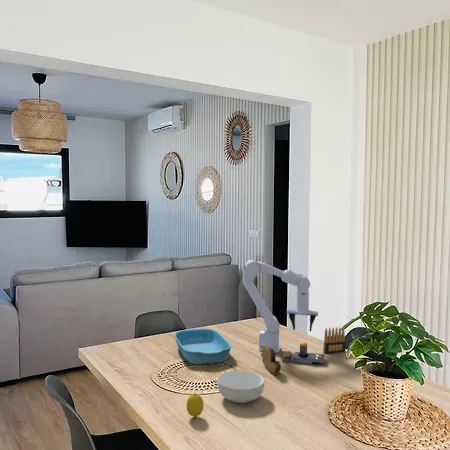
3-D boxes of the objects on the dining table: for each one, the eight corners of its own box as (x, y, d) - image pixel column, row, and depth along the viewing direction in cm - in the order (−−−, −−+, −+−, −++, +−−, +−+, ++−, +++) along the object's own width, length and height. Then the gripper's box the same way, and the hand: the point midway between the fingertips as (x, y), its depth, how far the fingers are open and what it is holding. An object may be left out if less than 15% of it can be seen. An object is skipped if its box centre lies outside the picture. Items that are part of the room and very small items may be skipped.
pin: (299, 361, 198) (299, 343, 198) (299, 359, 201) (300, 341, 201) (306, 362, 197) (307, 344, 197) (307, 359, 200) (307, 342, 200)
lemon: (186, 413, 148) (186, 390, 148) (203, 413, 149) (203, 389, 148) (186, 421, 143) (186, 397, 142) (203, 421, 143) (203, 396, 143)
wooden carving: (285, 377, 180) (285, 352, 179) (274, 378, 178) (275, 354, 178) (266, 363, 195) (266, 340, 195) (257, 364, 194) (257, 342, 193)
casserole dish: (237, 365, 194) (237, 348, 194) (186, 370, 187) (186, 353, 187) (213, 340, 229) (214, 326, 229) (170, 344, 222) (170, 329, 222)
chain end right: (293, 362, 196) (293, 356, 196) (295, 356, 204) (295, 350, 204) (323, 365, 193) (323, 358, 193) (324, 359, 201) (324, 352, 200)
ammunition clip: (343, 350, 212) (344, 325, 212) (345, 352, 211) (346, 326, 210) (323, 352, 210) (323, 327, 209) (325, 354, 208) (325, 328, 207)
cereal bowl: (249, 413, 149) (249, 392, 148) (207, 401, 158) (208, 381, 157) (272, 395, 163) (272, 376, 163) (233, 385, 172) (233, 367, 172)
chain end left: (281, 361, 198) (281, 354, 197) (284, 355, 205) (284, 349, 205) (311, 364, 194) (311, 357, 194) (313, 358, 202) (313, 351, 202)
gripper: (286, 302, 211) (285, 331, 212) (317, 304, 207) (317, 333, 208) (288, 299, 218) (287, 327, 218) (318, 301, 214) (318, 329, 215)
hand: (302, 330), depth 214 cm, fingers open, 7 cm apart
